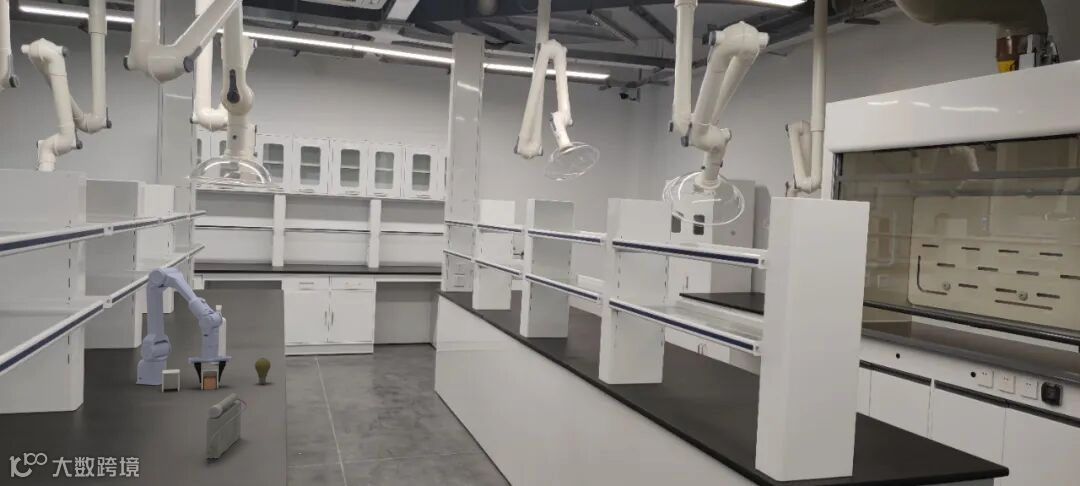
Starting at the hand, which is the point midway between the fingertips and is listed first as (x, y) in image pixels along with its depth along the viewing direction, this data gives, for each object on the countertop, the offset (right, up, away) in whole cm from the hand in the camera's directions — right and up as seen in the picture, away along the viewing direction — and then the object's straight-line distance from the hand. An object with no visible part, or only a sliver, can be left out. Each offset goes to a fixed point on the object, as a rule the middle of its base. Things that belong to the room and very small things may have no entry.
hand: (209, 382), depth 279 cm
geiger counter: (+35, -6, -70) cm, 78 cm away
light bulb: (+16, -3, +9) cm, 19 cm away
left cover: (-12, -2, -5) cm, 13 cm away
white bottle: (-16, 0, +45) cm, 47 cm away
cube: (0, -2, 0) cm, 2 cm away
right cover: (0, -2, 0) cm, 2 cm away
